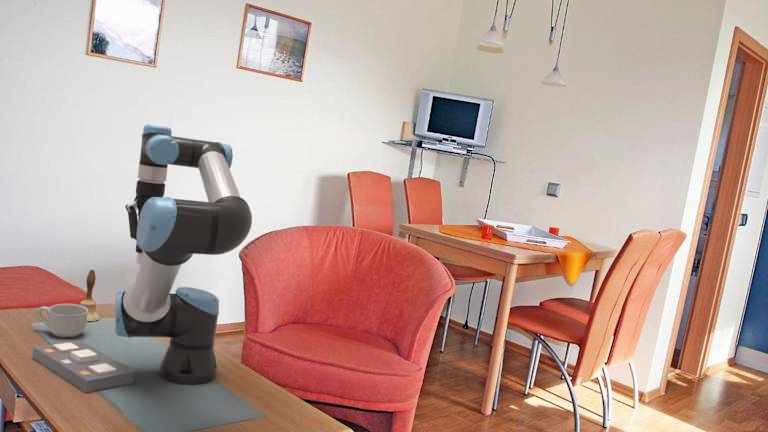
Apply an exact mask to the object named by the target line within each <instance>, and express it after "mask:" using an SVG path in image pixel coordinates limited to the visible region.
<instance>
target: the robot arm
mask: <svg viewBox="0 0 768 432" xmlns="http://www.w3.org/2000/svg"><path fill="white" fill-rule="evenodd" d="M172 133H173V132H172V128H170V127H167V126H164V125H156V124H145V125H144V126H143V130H142V134H141V144H140V145H141V147H140V155H139V156H140V158H139V162H138V170H137V171H138V172H137V178H138V180H137V181H136V185H135V186H136V187H135V194H136V195H135V198H134V200H133V202H131V203H130V204H128V203H127V204H126V205H125V209H126V211H127V214H128V215H127V216H128V224H129V235H130V238H131V239H133V240H135V241H136V244H135V252H136V253H137V254H136V262H135V263H136V264H138V265H140V266H139V269H138V271H137V274H136V275H137V276H136V277H135V281H134V283H133V284H131V285H130V286H129V287H128V288H127V289H126V290H122V291H121V290H120V291H117V292H116V294H115V312H114V313H115V319H114V320H115V324H114V326H115V327H114V331H115V334H116V335H117V336H119V337H123V338H124V337H125V338H128V339H130V338H169V345H168V347H167V349H166V351H165V354H164V356H163V359H162V360H161V361H160V364H159V371H158V373H159V376H160V377H162V378H163V379H165V380H167V381H170V382H172V383H178V384H183V385H184V384H186V385H198V384H205V383H209V382H211V381H213V380H214V379H216V378H217V374H218V373H217V372H218V365H217V361H216V354H215V349H214V347H215V346H214V345H215V340H216V339H215V338H216V332H217V324H218V317H219V315H220V313H219V311H220V308H219V307H220V300H219V298H218V296H216V295H215V294H214V293H211V292H209V291H207V290H203V289H200V288H197V287H191V286H190V287H188V286H180V287H178V288H176V290H175V291H174V292H175V293H170V292H171V290H172V288H173V286H174V283H175V280H176V278H177V276H178V273H179V271H180V269H181V266H182V265H184V264H185V263H187V262H188V261H189V260H190V259H191V258H192V257H193V255H211V256H216V255H217V256H219V255H223V254H226V253H229V252H231V251H233V250H235V249H237V248H238V247H239V246H240V245H241V244H242V243H243V242H244V241H245V240H246V238H247V237H248V235H249V233H250V231H251V228H252V223H253V215H252V211H251V208H250V206H249V204H248V202H247V201H246V200H245V199H244V198H242V197H241V195H240V192H239V191H238V187H237V184H236V182H235V181H234V177H233V175H232V172H231V166H232V164H233V148H232V146H231V145H230V144H227V143H222V142H219V141H207V140H201V139H200V140H199V139H193V138H187V137H179V136H173V135H172ZM169 165H170V166H179V167H186V168H193V169H195V168H196V169H198V170H199V173H200V174H199V175H200V177H201V180H202V183H203V188H204V191H205V194H206V198H207V200H208V201H204V200H203V201H201V200H192V199H191V200H190V199H183V198H182V199H181V198H172V197H171V196H170V197H169V196H165V191H166V184H165V182H167V176H168V175H167V174H168V166H169Z"/></svg>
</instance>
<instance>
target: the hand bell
mask: <svg viewBox="0 0 768 432" xmlns="http://www.w3.org/2000/svg"><path fill="white" fill-rule="evenodd" d="M95 271H96V270H94V269H90V270H89V272H88V274H87V277H86V288H87V290H86V295H85V299H84V300H82V301H80V303H79V305H81V306H84V307H86V308H87V309H88V313H87V321H94V322H97V321H96V320H98V321H100V320H101V317H100V316H99V314H98V313H97V312H98V311H97V310H96V309H97V308H96V307H97V306H96V302H95V301H93V300H92V298H93V288H94V287H95V283H96V273H95ZM99 319H100V320H99Z"/></svg>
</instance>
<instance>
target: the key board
mask: <svg viewBox="0 0 768 432" xmlns="http://www.w3.org/2000/svg"><path fill="white" fill-rule="evenodd" d="M70 342H71V343H72V344H74V345H76V346H78V347H79V348H80V349H79V350H85V349H89V350H91V351H93V352H94V353H96V354H98V358H97V361H94V362H88V363H82V364H78V363H77V362H75V361H73V360H72V359H70V353H71V352H66V353H60V352H59V351H57V350H55V349H54V348H53V345H56V344H63V343H64V342H60V343H59V342H58V343H52V344H47V345H38V346H33V348H32V359H33V360H35V361H37V362H38V363H39V364H40V365H42V366H44V367H46V368H47V369H48V370H50V371H51V372H54V373H55V374H56V375H58V376H60V377H61V378H63V379H64V380H65V381H67V382H69V383H70V384H71V385H73V386H75V387H76V388H77V389H79V390H81V391H82V392H84V393H85V394H87V393H90V392H95V391H100V390H105V389H110V388H115V387H120V386H125V385H130V384H134V383H135V378H136V377H135V376H136V371H135V370H133V369H132V368H131V367H128V366H126V365H124V364H123V363H121V362H120V361H118V360H116V359H114V358H112V357H111V356H109V355H107V354H106V353H103V352H102V351H100V350H98V349H96V348H95V347H93V346H91V345H89V344H88V343H86V342H84V341H83V340H80V339H79V340H75V341H74V340H73V341H68V342H65V343H70ZM104 363H107V364H108V365H110V366H112V367H114V368H115V369H116V372H114V373H109V374H103V375H96V374H95V373H93V372H91V371H90V370H88V366H93V365H99V364H104Z"/></svg>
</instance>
